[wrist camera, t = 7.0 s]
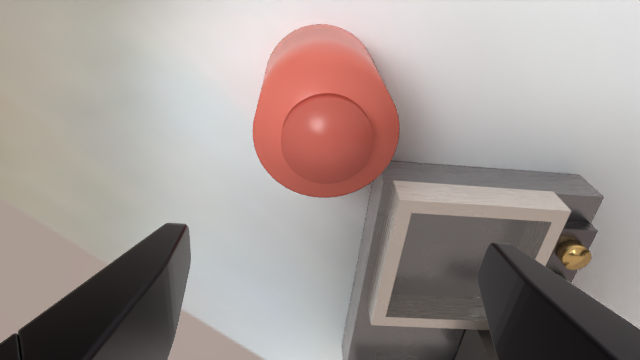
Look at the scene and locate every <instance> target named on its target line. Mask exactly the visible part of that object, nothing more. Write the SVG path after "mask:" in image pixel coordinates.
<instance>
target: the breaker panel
mask: <svg viewBox="0 0 640 360" xmlns="http://www.w3.org/2000/svg"><path fill="white" fill-rule="evenodd" d="M603 198H604V197H603V196H602V195H601V194H600V193H599V192H598V191H597V190H596V189H594V188H593V187H592V186H591V185H590V184H589V183H588V182H587V181H586V180H585V179H583V178H582V177H581V176H580V175H575V174H562V173H548V172H534V171H521V170H507V169H494V168H480V167H466V166H453V165H439V164H425V163H412V162H398V161H390V162H389V164H388V166H387V167H386V168H385V169H384V171H383V172H382V173H381V174H380V175H379V176H378V177H377V178H376V179H375V180H373V182H372V187H371V193H370V198H369V203H368V209H367V214H366V219H365V225H364V230H363V235H362V241H361V246H360V251H359V257H358V262H357V267H356V273H355V278H354V284H353V289H352V294H351V300H350V305H349V310H348V316H347V321H346V326H345V332H344V337H343V342H342V354H343V360H455V357H456V355H457V352H458V350H459V347H460V345H461V342H462V339H463V337H464V334H465V332H466V329H473V330H489V326H488V322H487V318H486V313H485V309H484V305H483V301H482V297H481V293H480V289H479V285H478V271H479V268H480V266H481V263H482V260H483V258H484V255H485V252H486V250H487V247H488V246H489V244H491V243H493V242H497V243H510V244H512V245H514V246H515V247H517V248H518V249H520V250H521V251H523V252H524V253H526V254H527V255H529V256H530V257H532V258H533V259H535V260H536V261H538V262H539V263H541V264H542V265H544V266H545V267H547V268H548V269H550V270H551V271H553V272H554V273H556V274H557V275H559V276H560V277H562V278H563V279H565V280H566V281H568V282H569V283H571V282H572V280H573V278H574V276H575V274H576V272H577V270H578V269H580V268H583V267H584V266H586V265H587V264H588V263H589V262H590V260H591V253H590V252H589V251H588V249H589V247H590V245H591V243H592V241H593V239H594V237H595V236H596V234H597V232H598V231H597V230H596V229H595V228H594V227H593V225H592V224H591V221H592V220H593V218H594V216H595V214H596V212H597V210H598V208H599V206H600V204H601V202H602V200H603Z"/></svg>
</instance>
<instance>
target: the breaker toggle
mask: <svg viewBox="0 0 640 360" xmlns="http://www.w3.org/2000/svg"><path fill="white" fill-rule="evenodd" d="M455 360H498V357H497V354H496V351H495V348H494V345H493V341H492V338H491V334H490V330H473V329H466V332H465V334H464V337H463V339H462V342H461V345H460V347H459V350H458V352H457V355H456V357H455Z"/></svg>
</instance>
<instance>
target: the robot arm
mask: <svg viewBox="0 0 640 360" xmlns="http://www.w3.org/2000/svg"><path fill="white" fill-rule="evenodd" d="M190 262H191V252H190V236H189V227H188V226H187V225H186V224H179V223H166V224H164V225H163V226H161V227H160V228H159V229H157V230H156V231H155V232H153V233H152V234H150V235H149V236H148V237H146V238H145V239H144V240H142V241H141V242H139V243H138V244H137V245H135V246H134V247H133V248H131V249H130V250H128V251H127V252H126V253H124V254H123V255H122V256H120V257H119V258H117V259H116V260H115V261H113V262H112V263H111V264H109V265H108V266H106V267H105V268H104V269H102V270H101V271H99V272H98V273H97V274H95V275H94V276H93V277H91V278H90V279H88V280H87V281H86V282H84V283H83V284H82V285H80V286H79V287H77V288H76V289H75V290H73V291H72V292H71V293H69V294H68V295H66V296H65V297H64V298H62V299H61V300H60V301H58V302H57V303H55V304H54V305H53V306H51V307H50V308H49V309H47V310H46V311H44V312H43V313H42V314H40V315H39V316H38V317H36V318H35V319H33V320H32V321H31V322H30V323H28V324H26V325H25V326H24V327H22V328H21V329H20V330H19V331H18V334H16V333H15V334H12V335H11V336H10V337H8V338H7V339H6V340H4V341H3V342H1V343H0V360H167V359H168V356H169V353H170V350H171V347H172V344H173V341H174V337H175V333H176V329H177V325H178V321H179V316H180V311H181V306H182V302H183V297H184V292H185V288H186V283H187V278H188V274H189V269H190ZM478 285H479V289H480V293H481V297H482V301H483V305H484V309H485V313H486V318H487V322H488V326H489V330H490V334H491V338H492V341H493V345H494V348H495V351H496V354H497V357H498V360H640V329H638V328H637V327H635V326H634V325H632V324H631V323H629V322H628V321H626V320H625V319H623V318H622V317H620V316H619V315H617V314H616V313H614V312H613V311H611V310H610V309H608V308H607V307H605V306H604V305H602V304H601V303H599V302H598V301H596V300H595V299H593V298H592V297H590V296H589V295H587V294H586V293H584V292H583V291H581V290H580V289H578V288H577V287H575V286H574V285H572V284H571V283H569V282H568V281H566V280H565V279H563V278H562V277H560V276H559V275H557V274H556V273H554V272H553V271H551V270H550V269H548V268H547V267H545V266H544V265H542V264H541V263H539V262H538V261H536V260H535V259H533V258H532V257H530V256H529V255H527V254H526V253H524V252H523V251H521V250H520V249H518V248H517V247H515V246H514V245H512V244H510V243H497V242H493V243H491V244H489V246H488V247H487V250H486V252H485V255H484V258H483V260H482V263H481V266H480V268H479V271H478Z"/></svg>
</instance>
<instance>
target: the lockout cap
mask: <svg viewBox="0 0 640 360" xmlns="http://www.w3.org/2000/svg"><path fill="white" fill-rule="evenodd" d="M398 139H399V119H398V114H397V110H396V107H395V105H394V103H393V101H392V98H391V96H390V95H389V93H388V91H387V89H386V87H385V85H384V83H383V81H382V79H381V77H380V75H379V73H378V71H377V69H376V67H375V65H374V63H373V61H372V59H371V57H370V55H369V53H368V51H367V50H366V48H365V46H364V45H363V44H362V43H361V42H360V40H358V39H357V38H356V37H355V36H354V35H352V34H351V33H349V32H348V31H346V30H344V29H342V28H339V27H336V26H332V25H324V24H317V25H309V26H305V27H302V28H300V29H297V30H295V31H293V32H292V33H290V34H289V35H287V36H286V37H285V38H283V39H282V40H281V41H280V42H279V43H278V45H277V46H276V47H275V49H274V50H273V52H272V54H271V56H270V58H269V61H268V64H267V68H266V72H265V76H264V80H263V84H262V89H261V93H260V97H259V101H258V105H257V109H256V113H255V118H254V122H253V141H254V146H255V150H256V153H257V156H258V158H259V160H260V162H261V164H262V165H263V166H264V168H265V169H266V171H267V172H268V173H269V174H270V175H271V176H272V177H273V178H274V179H275V180H276V181H277V182H279V183H280V184H282V185H283V186H285V187H286V188H288V189H290V190H292V191H294V192H297V193H300V194H303V195H307V196H312V197H337V196H342V195H346V194H349V193H352V192H355V191H357V190H359V189H361V188H363V187H365V186H366V185H368V184H369V183H371V182H372V181H373V180H375V179H376V178H377V177H378V176H379V175H380V174H381V173H382V172H383V171H384V169H385V168H386V167H387V166H388V164H389V162H390V161H391V159H392V157H393V155H394V153H395V150H396V147H397V144H398Z"/></svg>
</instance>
